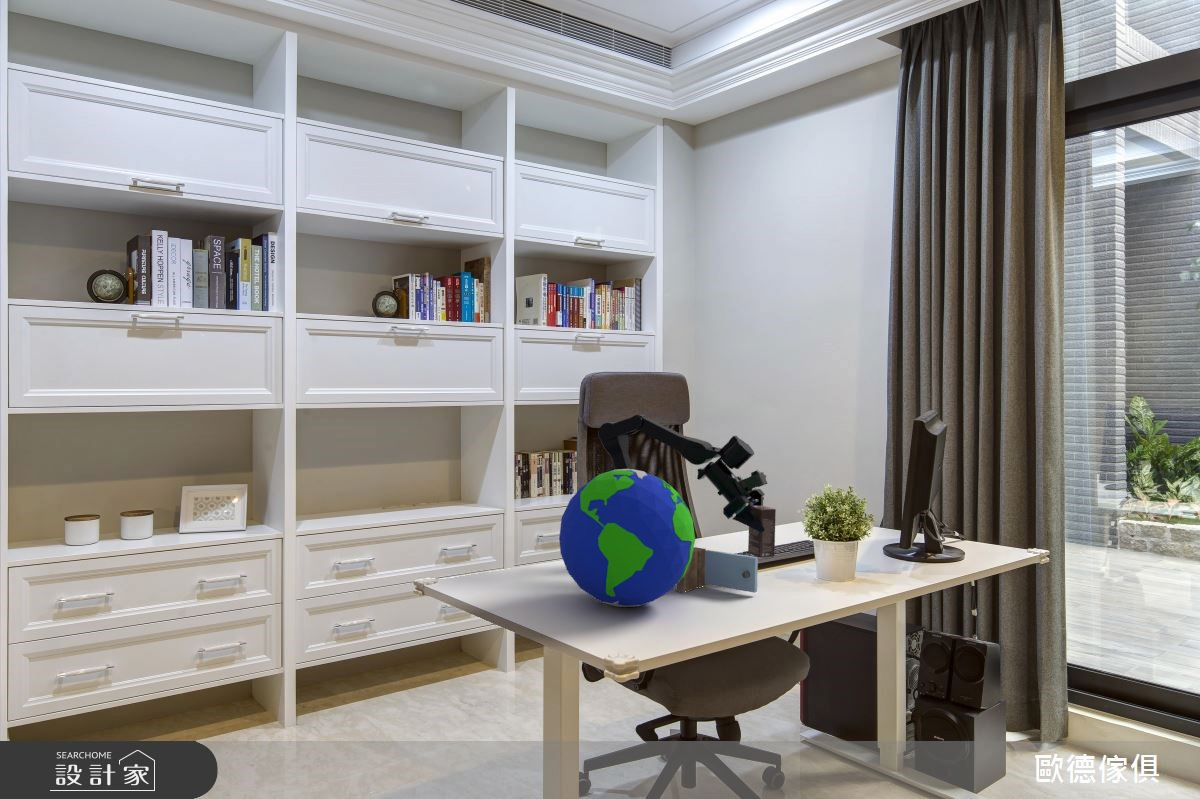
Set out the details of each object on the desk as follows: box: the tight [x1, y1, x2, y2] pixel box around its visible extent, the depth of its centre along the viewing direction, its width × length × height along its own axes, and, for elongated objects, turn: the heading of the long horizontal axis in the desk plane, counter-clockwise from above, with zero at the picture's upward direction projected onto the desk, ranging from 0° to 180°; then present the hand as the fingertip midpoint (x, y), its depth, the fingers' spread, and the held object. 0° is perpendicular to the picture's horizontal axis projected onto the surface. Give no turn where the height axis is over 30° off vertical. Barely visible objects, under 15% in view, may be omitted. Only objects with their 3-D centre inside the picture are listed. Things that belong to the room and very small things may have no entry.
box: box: [747, 505, 777, 559], centre depth 205 cm, size 6×4×12 cm
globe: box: [558, 468, 696, 608], centre depth 181 cm, size 30×30×30 cm
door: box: [705, 549, 759, 594], centre depth 193 cm, size 13×2×8 cm, turn 54°
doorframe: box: [676, 546, 707, 593], centre depth 202 cm, size 22×3×9 cm, turn 142°
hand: (767, 529), depth 204 cm, fingers closed on box, 7 cm apart
